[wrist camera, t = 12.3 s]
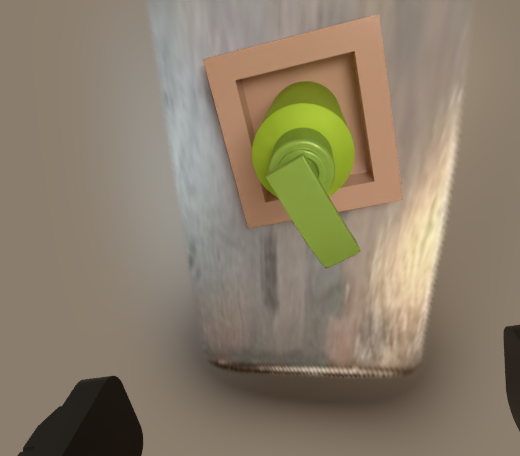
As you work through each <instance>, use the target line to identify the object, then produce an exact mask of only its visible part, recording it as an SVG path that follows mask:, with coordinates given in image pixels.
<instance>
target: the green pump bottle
mask: <svg viewBox="0 0 520 456" xmlns="http://www.w3.org/2000/svg"><path fill="white" fill-rule="evenodd" d="M354 157H355V148H354V142H353V138H352V135H351V133H350V130H349V128H348V125H347V123H346V120H345V118H344V115H343V113H342V111H341V108H340V106H339V103H338V101H337V99H336V97H335V96H334V94H333V93H332V92H331V91H330V90H329V89H328V88H326V87H325V86H323V85H321V84H319V83H316V82H311V81H301V82H296V83H293V84H291V85H289V86H287V87H286V88H284V89H283V90H282V91H281V92H280V93H279V94H278V95H277V97H276V98H275V100H274V102H273V104H272V105H271V107H270V109H269V111H268V113H267V114H266V116H265V118H264V120H263V122H262V123H261V125H260V127H259V129H258V131H257V133H256V135H255V138H254V141H253V146H252V162H253V167H254V170H255V173H256V175H257V177H258V179H259V180H260V182H261V183H262V185H263V186H264V187H265V188H266V189H267V190H268V191H269V192H270V193H272V194H273V195H275V196H276V197H278V198H279V200H280V202H281V203H282V205H283V207H284V208H285V210H286V212H287V213H288V215H289V216H290V218H291V220H292V221H293V223H294V224H295V226H296V228H297V229H298V231H299V232H300V234H301V235H302V237H303V238H304V240H305V241H306V243H307V244H308V246H309V247H310V248H311V250H312V251H313V253H314V254H315V255H316V257H317V258H318V259H319V261H320V262H321V263H322V265H323V266H324V267H325V268H329V267H331V266H333V265H335V264H337V263H339V262H341V261H343V260H345V259H347V258H349V257H351V256H353V255H355V254H357V253H359V252H360V248H359V246H358V244H357V242H356V240H355V238H354V237H353V235H352V234H351V232H350V231H349V229H348V227H347V226H346V224H345V223H344V221H343V219H342V218H341V216H340V214H339V213H338V211H337V209H336V208H335V206H334V204H333V203H332V201H331V199H330V197H329V196H331V195H332V194H334V193H335V192H336V191H338V190H339V189H340V188H341V187H342V186H343V184H344V183H345V182H346V180H347V179H348V177H349V175H350V173H351V170H352V167H353V164H354Z"/></svg>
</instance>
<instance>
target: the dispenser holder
mask: <svg viewBox="0 0 520 456" xmlns="http://www.w3.org/2000/svg"><path fill="white" fill-rule="evenodd" d="M203 61H204V65H205V69H206V73H207V76H208V80H209V84H210V88H211V91H212V95H213V99H214V103H215V106H216V110H217V114H218V118H219V121H220V125H221V129H222V133H223V136H224V140H225V144H226V148H227V151H228V155H229V159H230V163H231V166H232V170H233V174H234V178H235V181H236V185H237V189H238V193H239V196H240V200H241V204H242V208H243V211H244V215H245V219H246V223H247V226H248V228H253V227H259V226H264V225H269V224H275V223H280V222H286V221H291V218H290V216H289V215H288V213H287V212H286V210H285V208H284V207H283V205H282V203H281V202H280V200H279V198H278V197H276V196H275V195H273V194H272V193H270V192H269V191H268V190H267V189H266V188H265V187H264V186H263V185H262V183H261V182H260V180H259V179H258V177H257V175H256V173H255V170H254V167H253V162H252V146H253V141H254V138H255V135H256V133H257V131H258V129H259V127H260V125H261V123H262V122H263V120H264V118H265V116H266V114H267V113H268V111H269V109H270V107H271V105H272V104H273V102H274V100H275V98H276V97H277V95H278V94H279V93H280V92H281V91H282V90H283V89H284V88H286V87H287V86H289V85H291V84H293V83H296V82H301V81H311V82H316V83H319V84H321V85H323V86H325V87H326V88H328V89H329V90H330V91H331V92H332V93H333V94H334V96H335V97H336V99H337V101H338V103H339V106H340V108H341V111H342V113H343V115H344V118H345V120H346V123H347V125H348V128H349V130H350V133H351V135H352V138H353V142H354V148H355V157H354V164H353V167H352V170H351V173H350V175H349V177H348V179H347V180H346V182H345V183H344V184H343V186H342V187H341V188H340V189H339V190H338V191H336V192H335V193H334V194H332V195H331V196H329V197H330V199H331V201H332V203H333V204H334V206H335V208H336V209H337V211H338V212H340V211H346V210H351V209H357V208H362V207H368V206H373V205H378V204H384V203H389V202H395V201H400V200H403V194H402V187H401V179H400V171H399V164H398V156H397V148H396V141H395V133H394V125H393V118H392V110H391V102H390V95H389V87H388V79H387V72H386V64H385V56H384V49H383V41H382V33H381V26H380V18H379V14H377V15H373V16H370V17H366V18H362V19H358V20H354V21H350V22H346V23H342V24H338V25H335V26H331V27H327V28H323V29H319V30H315V31H311V32H307V33H303V34H300V35H296V36H292V37H288V38H284V39H280V40H276V41H272V42H268V43H265V44H261V45H257V46H253V47H249V48H245V49H241V50H237V51H233V52H230V53H226V54H222V55H218V56H214V57H210V58H206V59H203Z"/></svg>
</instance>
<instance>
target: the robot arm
mask: <svg viewBox="0 0 520 456" xmlns="http://www.w3.org/2000/svg"><path fill="white" fill-rule="evenodd" d="M504 356H505V376H506V392H507V398H508V402H509V406H510V410H511V413H512V416H513V418H514V421H515V423H516V425H517V427H518V429H519V431H520V325H515V326H507V327H506V328H505V329H504ZM142 449H143V434H142V429H141V426H140V423H139V421H138V419H137V416H136V414H135V412H134V409H133V407H132V405H131V403H130V400H129V398H128V396H127V393H126V391H125V389H124V387H123V384H122V382H121V380H120V379H119V378H118V377H116V376H108V377H101V378H93V379H85V380H81V381H80V382H78V384H77V385H76V386H75V387H74V389H73V390H72V392H71V393H70V395H69V397H68V398H67V399H66V401H65V403H64V404H63V406H61V407H58V408H57V409H56V410H55V411H54V412H53V413H52V414H51V415H50V416H49V417H47V418H46V419H45V420H44V421H43V422H42V423H41V424H40V425H39V426H38V427H37V428H36V430H35V431H34V433H33V434H32V436H31V437H30V439H29V440H28V441H27V443H26V444H25V446H24V447H23V452H20V453H19V454H18V456H141V454H142Z"/></svg>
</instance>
